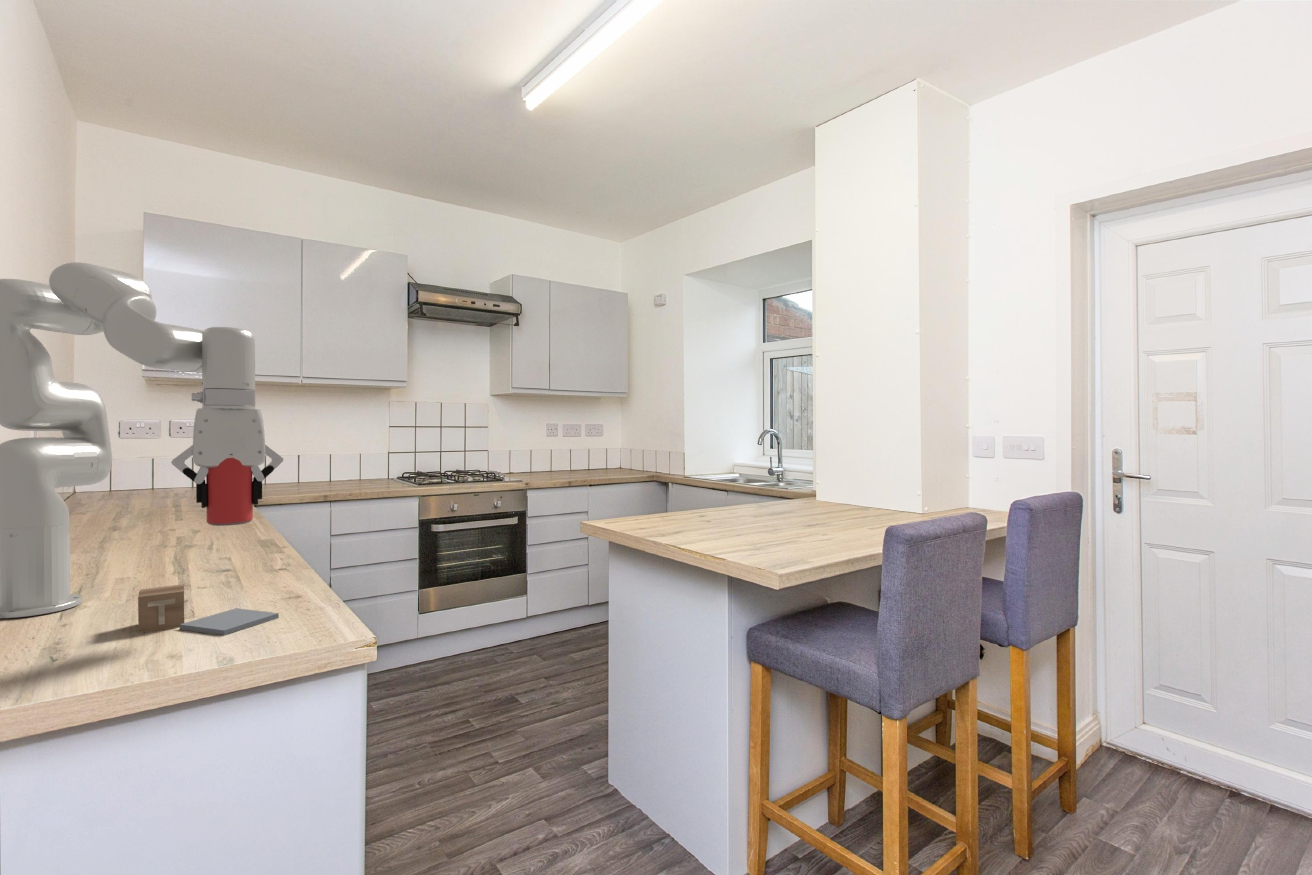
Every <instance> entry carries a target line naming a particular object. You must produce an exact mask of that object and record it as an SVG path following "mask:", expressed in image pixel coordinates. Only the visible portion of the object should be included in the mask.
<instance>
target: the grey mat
mask: <svg viewBox="0 0 1312 875" xmlns="http://www.w3.org/2000/svg"><path fill="white" fill-rule="evenodd" d="M276 619H279V612H271V611H263V610H255V609H254V610H253V609H246V608H237V607H236V608H232V609H229V610H225V611H221V612H218V613H215V614H212V615H211V614H210V615H208V616H205V617H204V616H203V617H201V618H198V619H193V620H190V621H187V622H184V623H183V624H180V627H179V630H183V631H189V632H190V631H191V632H199V633H205V634H213V635H220V636H227V635H229V634H233V633H237V632H239V631H242V630H245V629H248V628H251V627H254V626H257V625H260V624H263V623H267V622H269V621H273V620H276Z"/></svg>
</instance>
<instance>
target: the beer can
mask: <svg viewBox="0 0 1312 875" xmlns="http://www.w3.org/2000/svg"><path fill="white" fill-rule="evenodd" d="M229 455H233V454H229ZM253 477H254V476H253V474H252V471H251V467H246V466H244V465H242V463H241V462H240V461H239V460H237V459H235V458H233V457H232V458H226V459H225V460H223V461H222V462H221V463H220V464H219V466H217V467H215V468H208V473H207V475H206V477H205V483H206V484H207V507H206V523H207V524H208V525H211V526H217V527H218V526H220V527H222V526H223V527H227V526H236V525H237V526H239V525H244V524H248V523H250V522H252V521H253V518H254V516H253V515H254V514H253V513H254V510H253V508H254V507H253V506H254V504H253Z"/></svg>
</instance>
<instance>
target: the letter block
mask: <svg viewBox="0 0 1312 875" xmlns="http://www.w3.org/2000/svg"><path fill="white" fill-rule="evenodd" d="M137 614H138V615H137V617H138V619H137V622H138V626H137V628H138V631H137V632H138V634H142V633H149V632H153V631H154V632H155V631H160V630H166V629H167V630H168V629H174V628H180V624H183V623H185V585H184V584H183V583H182V584H174V585H166V586H158V587H157V586H155V587H149V588H140V589H139V591H138V595H137Z"/></svg>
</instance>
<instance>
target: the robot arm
mask: <svg viewBox="0 0 1312 875" xmlns="http://www.w3.org/2000/svg"><path fill="white" fill-rule="evenodd" d="M48 283H49V284H47V283H41V282H37V281H31V280H25V279H19V278H18V279H17V278H16V279H15V278H0V426H1V427H2V428H4V429H9V430H12V431H13V430H14V431H23V432H24V431H25V432H26V431H27V432H61V433H62V437H54V436H53V437H52V436H49V437H45V436H43V437H41V436H39V437H20V438H14V439H9V440H5V441H3V442H1V443H0V619H16V618H27V617H33V616H34V617H35V616H39V615H41V616H42V615H46V614H51V613H55V612H61V611H65V610H68V609H71V608H74V607H76V606H79V605H80V604H81V603H82V601H83V600H82V598H83V597H82V596H81V595H79V594H74V593H73V594H71V531H70V530H71V529H70V528H71V527H70V526H71V525H70V524H71V523H70V522H71V521H70V511H69V507H68V505H67V502H66V501H64V499H63V498H62V497H61V496H60V494H59V493H58V492H57V490H56V489H58V488H71V487H81V486H92V485H96V484H98V483H100V482H103V481H104V480H105V479H106V478H107V477H108V476H109V475H110V473H111V470H112V465H113V453H112V446H111V445H112V443H111V438H110V431H109V430H110V429H109V422H108V421H109V420H108V417H107V416H108V415H107V410H106V405H105V402H104V400H103V398H102V397H101V395H100V394H99V393H98V391H96V390H95V389H94V388H92V387H91V386H89V385H88V384H87V385H86V384H83V383H78V382H69V381H68V382H67V381H58V380H57V379H56V378H55V376H54V375H55V374H54V371H53V363H52V362H53V361H52V357H51V356H50V353H49V352H48V350H47V349H46V347H45V346H44V344H43V343H42V342H41V341H40V340H39V339H38V337H36V336H35V335H33V333H31V329H32V330H33V329H34V330H40V331H46V332H47V331H48V332H53V333H54V332H55V333H61V334H62V333H63V334H69V335H75V336H91V335H96V334H100V333H103V334H104V337H105V339H106V341H107V343H108V344H109V345H110V347H111V348H112V349H114V350H115V351H118V352H119V353H121V354H122V355H123V356H126V357H127V358H128V359H130V360H132V361H134V362H135V363H138V364H139V365H143V366H145V367H147V368H148V367H149V368H153V369H156V370H157V369H159V370H169V371H170V370H171V371H178V372H179V371H180V372H186V373H195V374H196V373H197V374H201V391H198V392H196V393H195V392H191V402H197V403H200V404H202V405H201V408H196V412H195V417H194V424H193V431H192V432H193V433H192V434H193V435H192V445H190V446H189V447H187V449H185V450H184V451H182V452H181V453H180V454H179V455H176V457H175V458H173V459H172V460H171V462H170V463H171V465H172V466H173V467H175V468H176V469H177V470H179V471H180V472H181V473H182V474H183V475H184V476H186V477H187V478H189V479H190V480H191V481H193V482H194V483H195V484H196V485H195V486H196V487H195V488H196V489H195V490H196V493H195V497H196V500H195V501H196V502H195V503H196V504H199V503H200V504H201V508H202V509H205V508H206V509H207V484H206V475H207V473H208V468H215V467H217V466H219V464H220V463H221V462H222V461H223V460H225V459H226V458H232V457H233V458H235V459H237V460H239V461H240V462H241V463H242V465H244V466H246V467H251V471H252V477H253V506H256V505H259V500H262V499H263V481H264V480H265V479H266V478H267V477H268V476H269V475H270V474H272V472H274V470H275V469H276V468H278V467H279V466H280V465H281V464H282V463H283V462H284V458H283V457H282V456H281V455H280V454H278V453H277V452H276V451H274V450H273V449H272V448H271V447H269V446H268V445H267V444H266V439H265V436H266V434H265V425H264V424H265V423H264V420H263V415H262V414H263V413H262V410H261V409H259V408H256V346H255V345H256V342H255V341H256V339H255V336H254V335H253V333H252V332H251V331H249V330H247V329H243V328H238V327H231V326H230V327H226V326H212V327H207V328H206V329H204V330H202V329H198V328H197V329H196V328H192V327H187V326H181V325H175V324H170V323H169V324H168V323H162V322H159V321H156V317H157V308H156V304H155V302H154V301H153V298H152V293H151V292H152V291H151V290H150V287H149V286H148V285H147V284H146V282H145V281H144V280H142V279H141V278H140V277H138V276H136V275H134V274H132V273H128V272H125V271H120V270H116V269H112V268H107V267H104V266H100V265H96V264H92V263H87V262H76V261H75V262H66V263H63V264H61V265H59V266H57V267H55V268H54V269H53V270H52V271H51V273H50V275H49V277H48ZM229 454H233V455H229ZM266 456H267V457H268V458H269V459H271V460H270V462H269V463H268V464H267V465H266V466H265V467H263V468H262V469H261V468H260V465H263V464H265V461H266ZM191 457H192V461H193V464H194V465H195V466H197V467H199V468H198V470H197V472H196V471H194V470H193V469H192V468H190V466H188V465H187V464H186V463H185V462H186V460H188V459H190V458H191Z"/></svg>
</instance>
